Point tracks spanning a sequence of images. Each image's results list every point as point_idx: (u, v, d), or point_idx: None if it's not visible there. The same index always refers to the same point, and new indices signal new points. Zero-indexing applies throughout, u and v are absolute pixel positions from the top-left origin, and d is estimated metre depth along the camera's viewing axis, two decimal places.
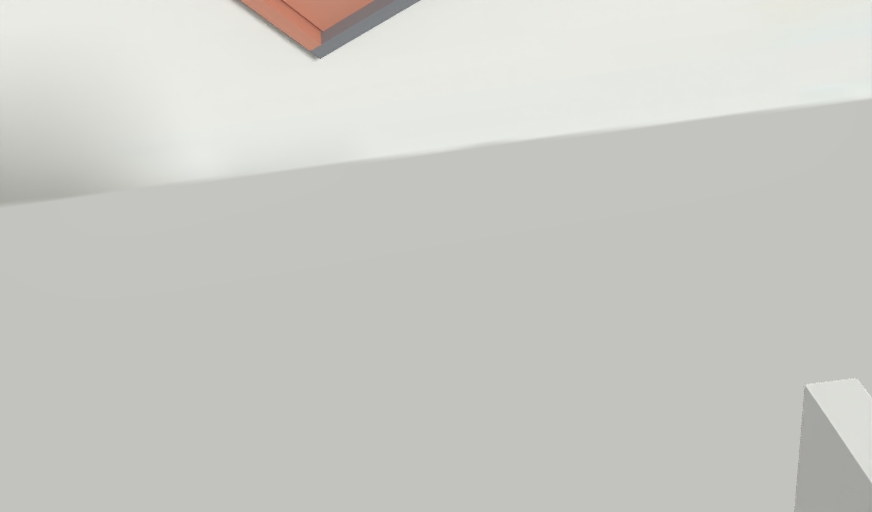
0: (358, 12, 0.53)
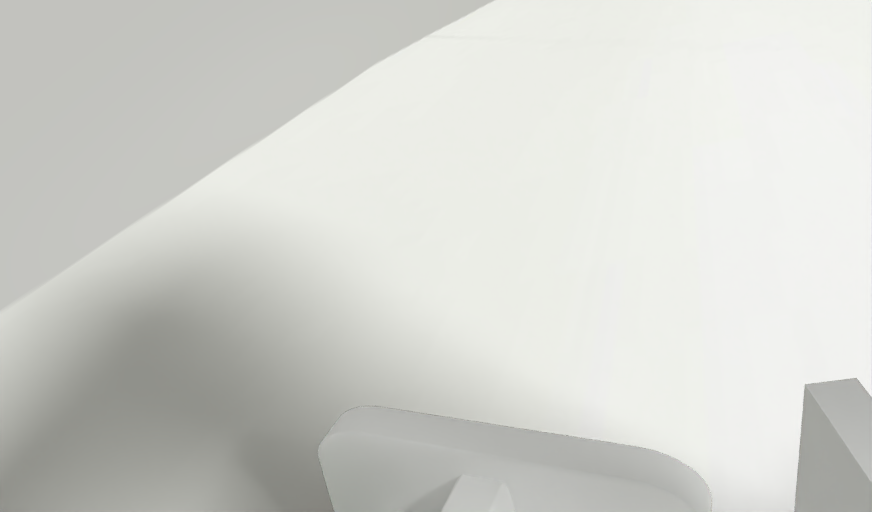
0: None
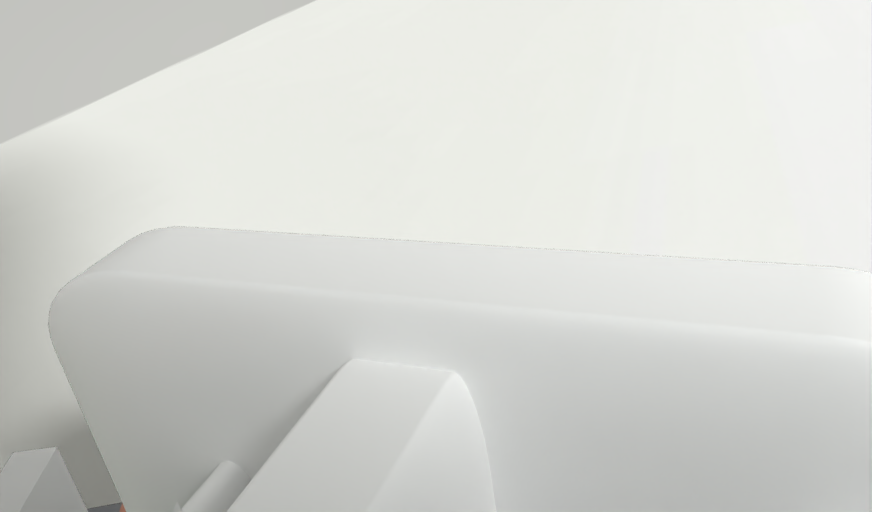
0: None
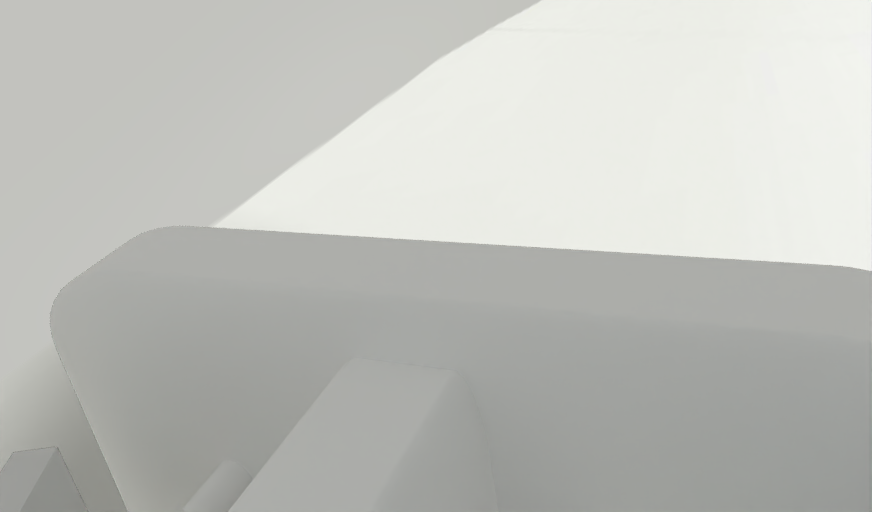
0: None
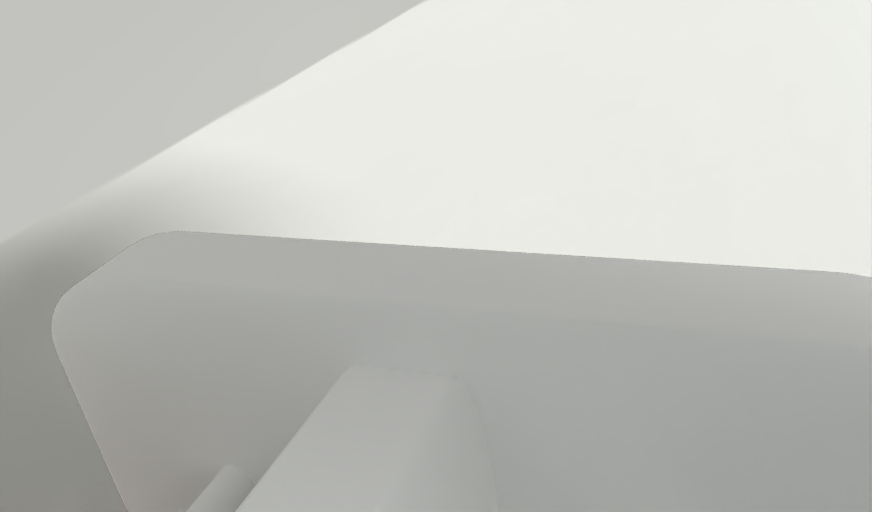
0: None
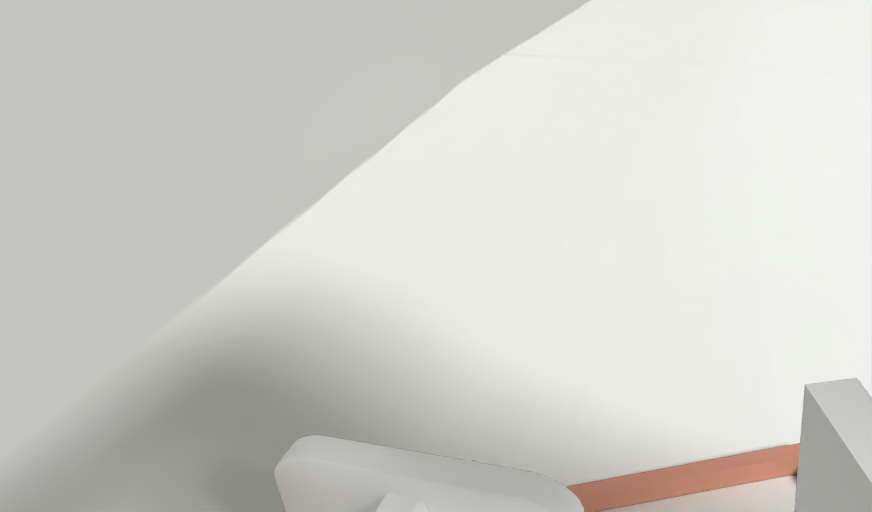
0: None
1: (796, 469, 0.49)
